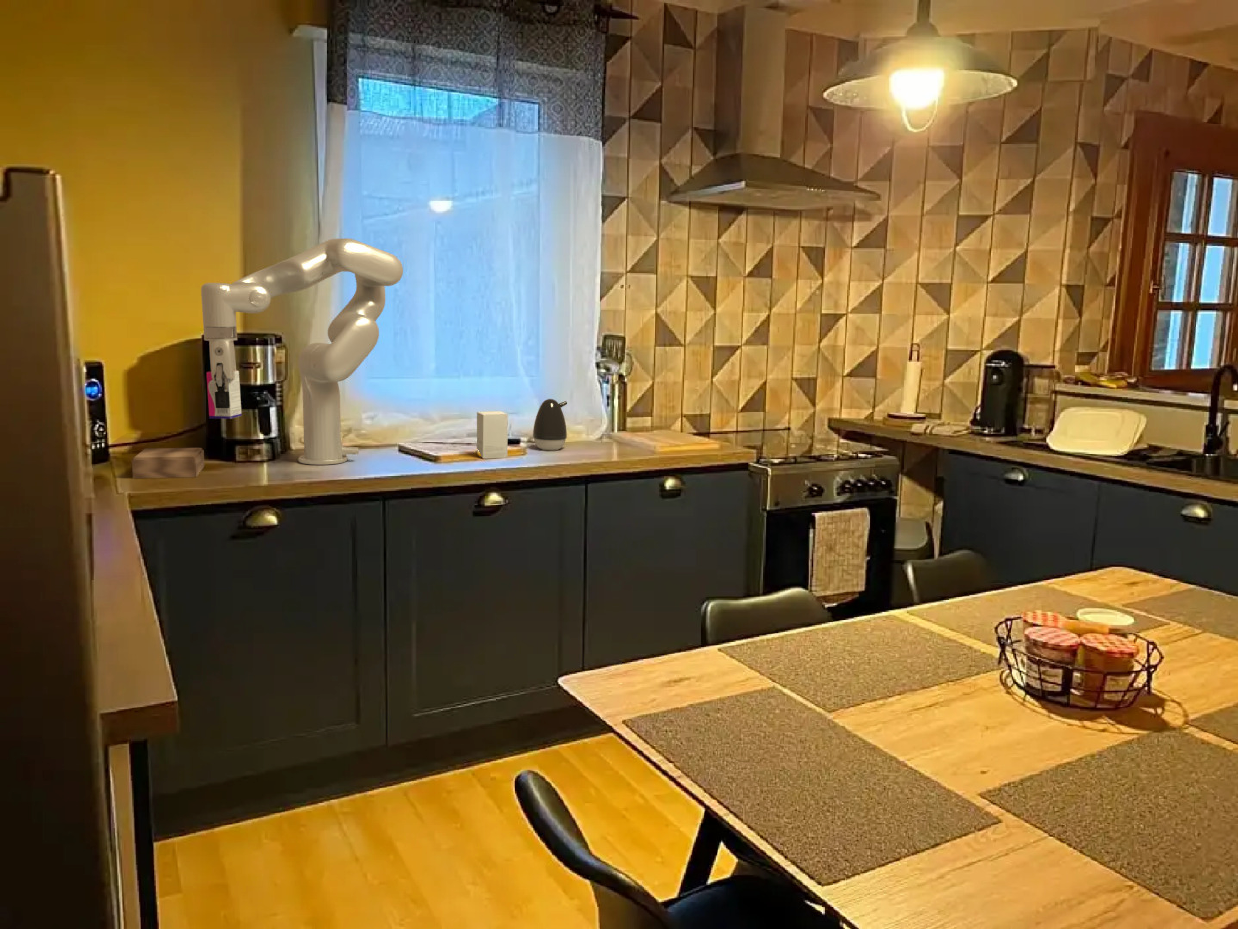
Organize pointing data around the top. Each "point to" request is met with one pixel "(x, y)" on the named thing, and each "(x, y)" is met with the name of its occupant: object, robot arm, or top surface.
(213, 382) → the supplement box
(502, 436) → the supplement box
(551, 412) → the pump dispenser
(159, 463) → the block
